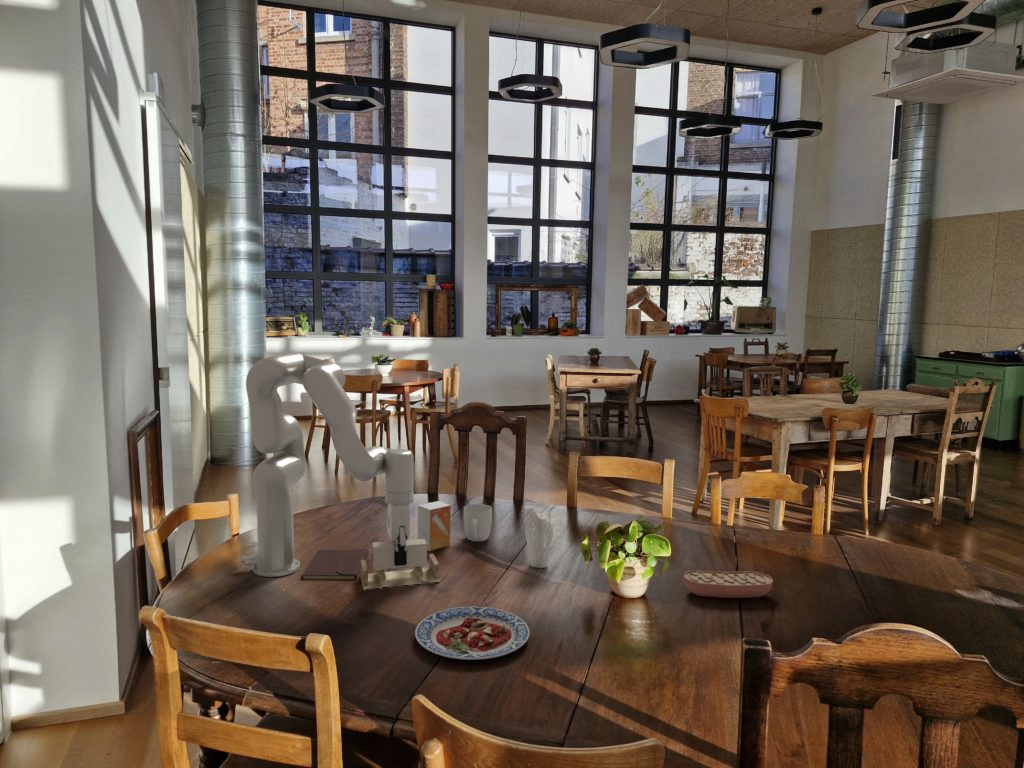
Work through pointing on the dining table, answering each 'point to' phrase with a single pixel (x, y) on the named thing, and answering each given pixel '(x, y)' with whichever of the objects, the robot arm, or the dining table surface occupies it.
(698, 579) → the oval trinket tray
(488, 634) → the ceramic plate
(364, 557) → the notebook
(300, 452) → the robot arm
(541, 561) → the white fluted vase
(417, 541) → the clay bar
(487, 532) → the mug
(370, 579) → the rack
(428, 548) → the small box
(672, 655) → the dining table surface
